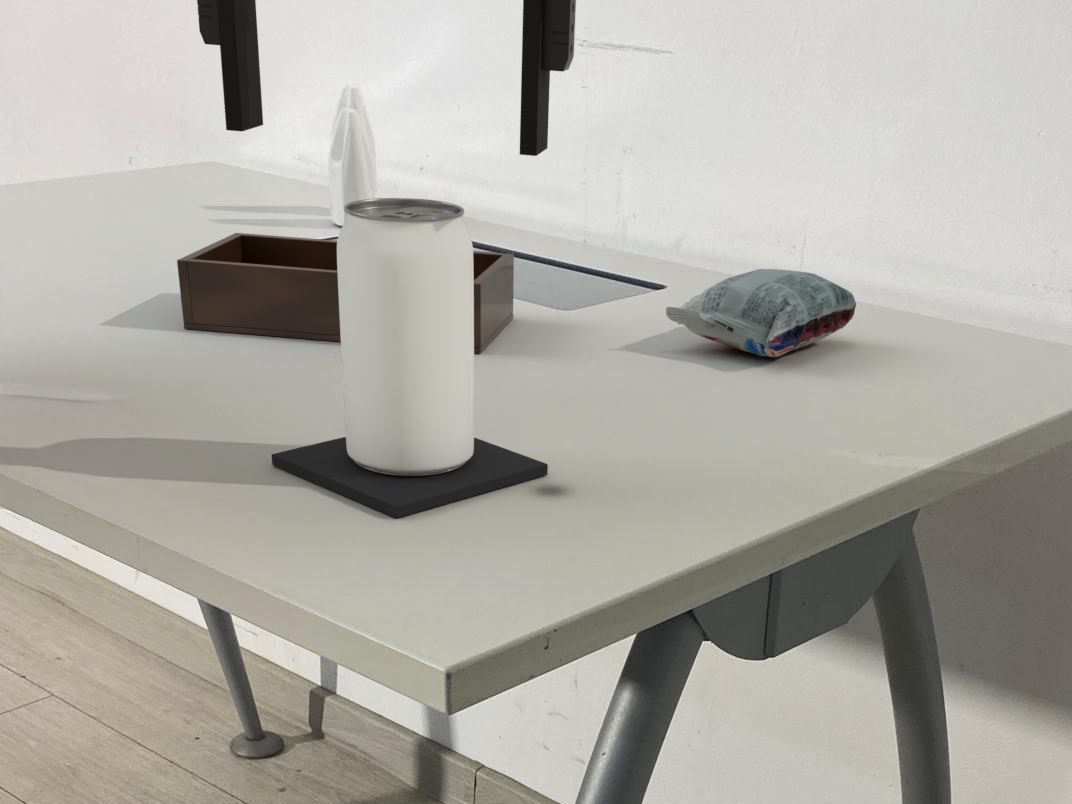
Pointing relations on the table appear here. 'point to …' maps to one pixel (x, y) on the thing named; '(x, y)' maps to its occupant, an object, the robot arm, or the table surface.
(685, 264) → the table surface
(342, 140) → the white ridged upright piece
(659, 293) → the table surface
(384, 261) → the can
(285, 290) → the brown wooden box
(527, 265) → the table surface
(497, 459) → the mat
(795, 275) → the packaged food
